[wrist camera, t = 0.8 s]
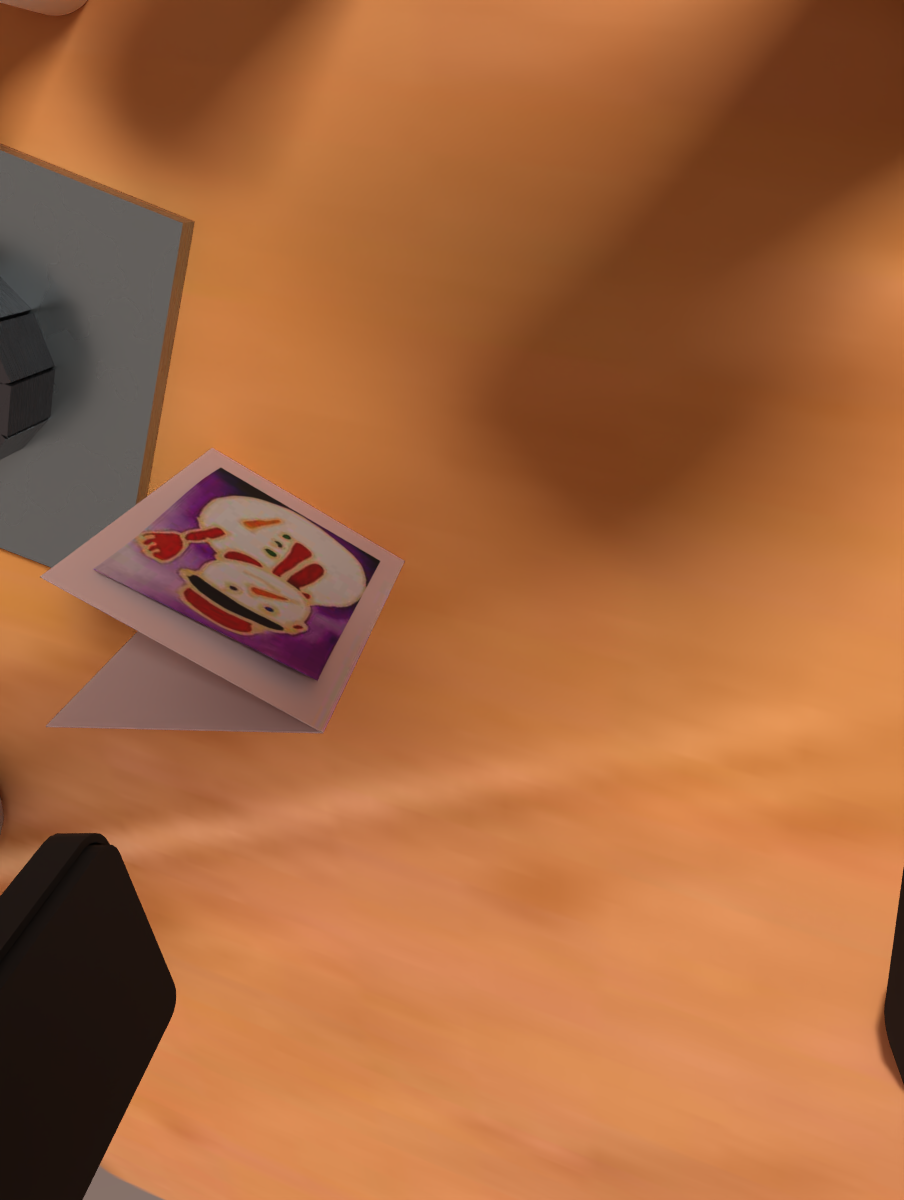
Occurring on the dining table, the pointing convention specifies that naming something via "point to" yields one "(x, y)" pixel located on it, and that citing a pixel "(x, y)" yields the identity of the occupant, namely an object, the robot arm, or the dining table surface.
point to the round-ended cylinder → (47, 6)
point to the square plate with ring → (80, 351)
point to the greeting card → (225, 607)
